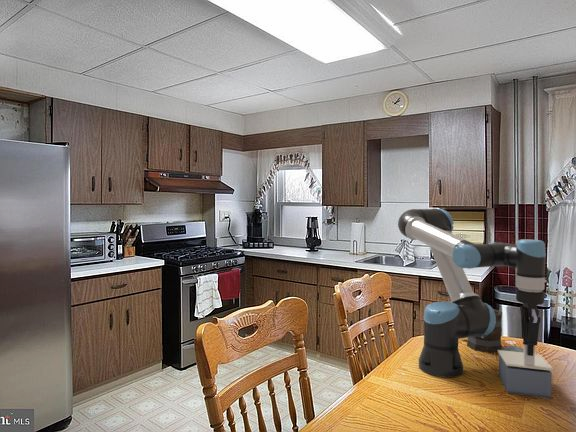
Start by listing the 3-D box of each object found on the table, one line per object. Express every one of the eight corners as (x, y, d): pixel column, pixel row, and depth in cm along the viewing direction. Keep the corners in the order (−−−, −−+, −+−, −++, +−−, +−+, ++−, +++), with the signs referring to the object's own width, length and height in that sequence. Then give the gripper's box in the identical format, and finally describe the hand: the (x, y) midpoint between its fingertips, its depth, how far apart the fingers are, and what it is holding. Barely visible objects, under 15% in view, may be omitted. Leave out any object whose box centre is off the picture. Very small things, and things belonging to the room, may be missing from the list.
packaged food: (523, 355, 155) (523, 343, 155) (538, 368, 143) (538, 355, 143) (499, 354, 156) (499, 342, 156) (513, 367, 144) (513, 354, 144)
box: (507, 393, 124) (507, 368, 124) (498, 374, 138) (498, 351, 137) (551, 398, 121) (551, 373, 120) (537, 379, 134) (538, 356, 134)
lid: (506, 365, 124) (506, 363, 124) (497, 351, 137) (497, 349, 137) (553, 371, 120) (553, 369, 120) (539, 355, 134) (539, 354, 134)
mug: (508, 348, 162) (509, 312, 161) (491, 355, 154) (492, 318, 154) (464, 335, 178) (464, 302, 178) (446, 341, 170) (447, 307, 170)
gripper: (551, 295, 115) (549, 374, 116) (537, 285, 127) (536, 357, 128) (521, 293, 117) (520, 371, 118) (511, 284, 130) (510, 355, 130)
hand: (528, 364), depth 123 cm, fingers closed
